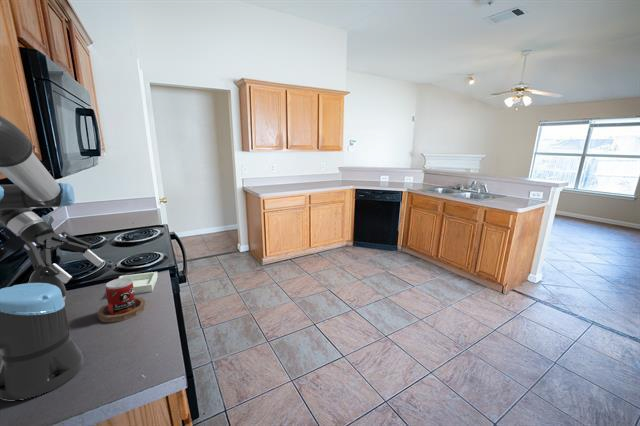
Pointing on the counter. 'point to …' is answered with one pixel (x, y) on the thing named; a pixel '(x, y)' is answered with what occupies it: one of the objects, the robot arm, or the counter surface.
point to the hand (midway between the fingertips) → (85, 271)
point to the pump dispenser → (48, 280)
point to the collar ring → (121, 316)
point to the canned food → (120, 296)
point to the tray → (143, 281)
